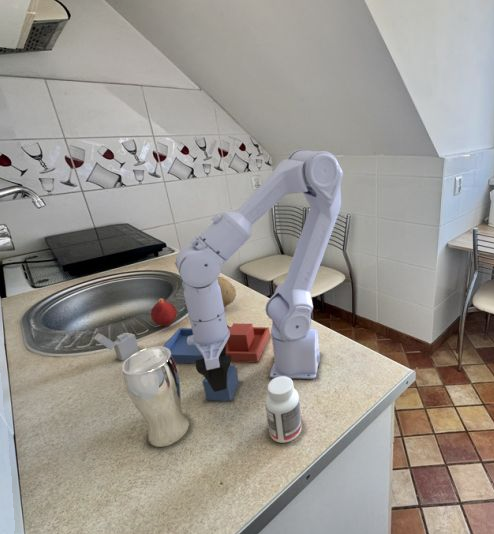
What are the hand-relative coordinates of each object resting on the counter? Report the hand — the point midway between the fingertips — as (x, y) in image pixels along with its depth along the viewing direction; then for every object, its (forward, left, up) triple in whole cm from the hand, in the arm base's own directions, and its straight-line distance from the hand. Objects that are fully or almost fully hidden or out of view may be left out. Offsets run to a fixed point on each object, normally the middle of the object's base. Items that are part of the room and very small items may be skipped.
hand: (219, 375), depth 61 cm
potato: (+13, -31, -4) cm, 34 cm away
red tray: (+1, -14, -4) cm, 15 cm away
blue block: (0, 0, -4) cm, 4 cm away
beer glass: (+6, +9, -4) cm, 12 cm away
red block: (+1, -14, -4) cm, 15 cm away
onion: (+24, -22, -4) cm, 33 cm away
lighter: (+27, -9, -4) cm, 29 cm away
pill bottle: (-14, +8, -4) cm, 17 cm away
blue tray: (+13, -13, -4) cm, 19 cm away
